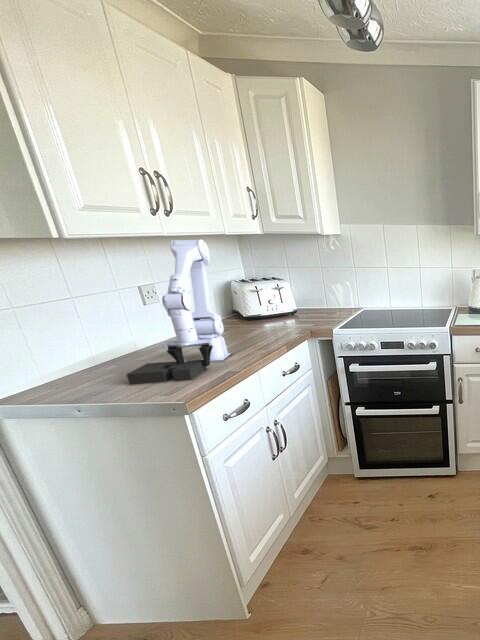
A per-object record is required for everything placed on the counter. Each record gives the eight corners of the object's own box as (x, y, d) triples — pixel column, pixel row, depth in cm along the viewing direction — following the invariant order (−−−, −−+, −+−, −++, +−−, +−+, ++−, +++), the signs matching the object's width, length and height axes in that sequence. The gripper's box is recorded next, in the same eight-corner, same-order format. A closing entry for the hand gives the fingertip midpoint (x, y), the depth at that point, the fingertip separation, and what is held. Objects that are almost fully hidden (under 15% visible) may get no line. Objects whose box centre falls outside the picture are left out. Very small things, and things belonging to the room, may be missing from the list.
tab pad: (181, 370, 147) (179, 361, 146) (206, 368, 149) (204, 359, 148) (164, 381, 136) (161, 371, 135) (191, 379, 138) (189, 369, 137)
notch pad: (149, 372, 145) (146, 363, 144) (182, 370, 147) (180, 361, 146) (129, 384, 134) (126, 374, 133) (165, 381, 136) (162, 371, 135)
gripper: (153, 332, 136) (166, 371, 141) (204, 329, 140) (214, 368, 144) (164, 328, 143) (176, 365, 147) (212, 325, 146) (222, 362, 151)
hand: (195, 366), depth 146 cm, fingers open, 7 cm apart
